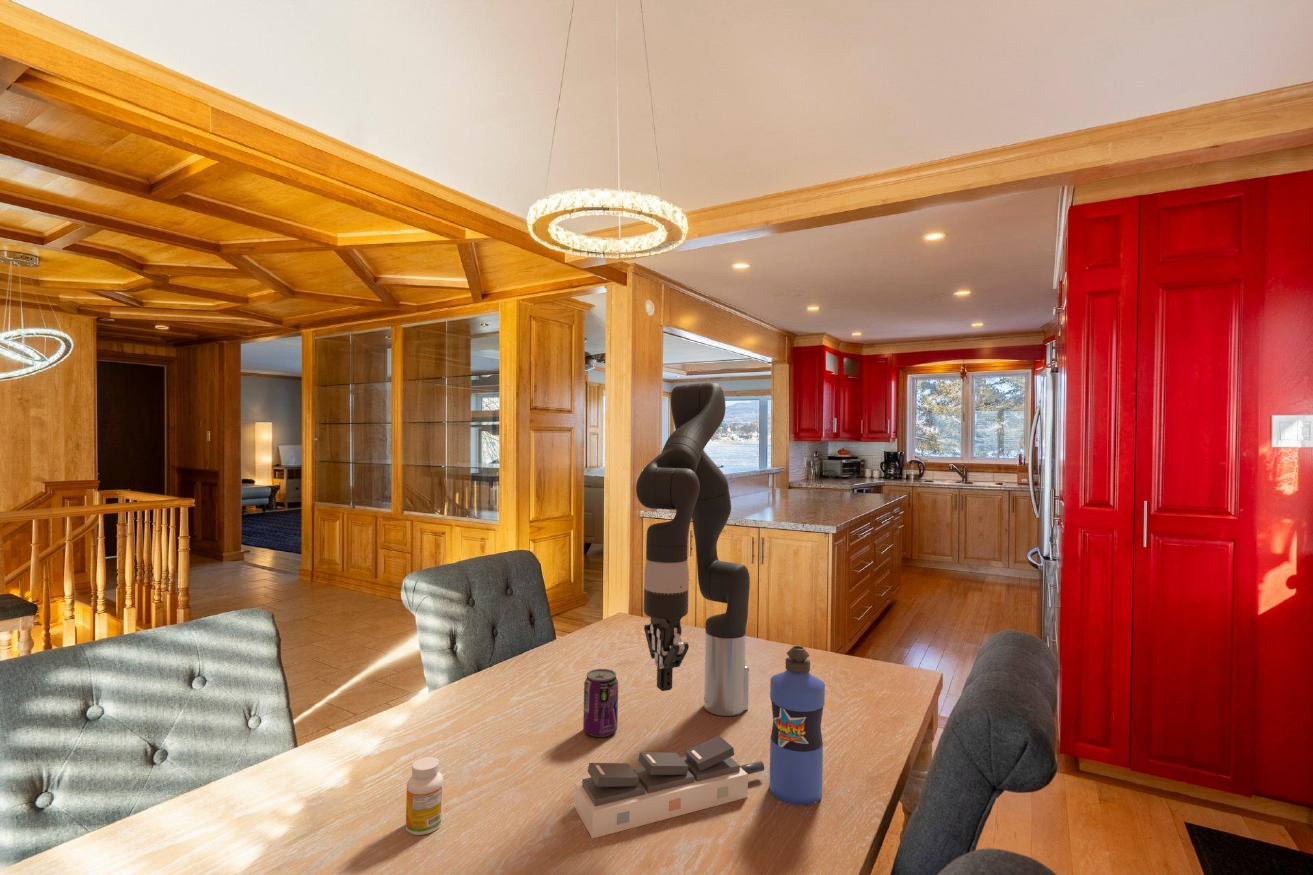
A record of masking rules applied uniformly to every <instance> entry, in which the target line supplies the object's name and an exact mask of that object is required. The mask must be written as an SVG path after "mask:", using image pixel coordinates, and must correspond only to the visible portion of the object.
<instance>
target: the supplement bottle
mask: <svg viewBox="0 0 1313 875" xmlns="http://www.w3.org/2000/svg"><path fill="white" fill-rule="evenodd" d="M443 776H444V775H443V774H442V772H440V761H439V759H438V758H436V757H434V756H426V757H422V758H419V759H416V760H415V761H414V762H412V765H411V776H410V777H409V779H408V780H407V783H406V801H405V804H406V807H405V809H406V810H405V828H406V830H407V832H409V834H411V835H414V836H421V835H422V836H423V835H427V834H430V833H433V832H435V831H436V830H437V829H439V828H440V827H441V826H442V823H443V817H444V816H443V815H444V814H443V813H444V777H443Z"/></svg>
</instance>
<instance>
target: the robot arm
mask: <svg viewBox="0 0 1313 875" xmlns="http://www.w3.org/2000/svg"><path fill="white" fill-rule="evenodd" d="M725 398H726V397H725V393H724V390H723V387H721V386H720V385H719V384H718V383H716V382H700V383H692V384H681V385H677V386H675V387H673V388H672V391H671V393H670V408H671V415H672V420H673V425H674V428H675V430H674V431H673V432H672V433H671V434H670V435H669V437H668V438H667V440H666V442H665V444H664V446H663V448H662V450H661V452H660V453H659V454H658V455H657V456H656V457H655V458H653V459H652V460H650V462H649V463H648V464H647V465H646V466H645V467H644V468H643V469H642V471H641V472H640V474H639V476H638V479H637V481H636V485H635V486H636V487H635V491H636V493H635V494H636V497H637V499H638V501H639V503H640V504H641V505H642V506H643V507H645V508H647V509H650V510H651V509H653V510H655V509H656V510H671V511H674V510H675V515H674V517H673V519H671V520H668V521H663V522H656V523H652V524H651V525H649V526H648V527H647V530H646V539H645V540H646V541H645V542H646V546H645V551H646V552H645V566H644V571H643V572H644V573H643V574H644V575H643V579H644V580H643V581H644V582H643V612H644V614H645V616H647V617H648V618H650V620H649V621H650V623H649V624H644V628H643V629H644V630H643V631H644V634H645V638H646V642H647V645H648V650H649V654H650V658H651V659H653V660H654V665H655V666H657V667H656V687H657V688H658V690H660V691H661V692H666V691H670V690H672V689H673V669H674V668H680V666H681V664H682V663H683V660H684V658H685V657H686V654H687V653H688V650H689V649H690V648H689V647H690V646H689V643H688V641H683V640H682V638H681V635H682V625H681V619H683V618H684V617H686V616H687V615H688V613H689V584H690V582H689V578H690V576H689V575H690V573H689V565H688V564H689V563H688V562H689V560H688V558H689V556H688V555H689V554H688V550H689V546H688V545H689V534H690V533H689V532H690V527H691V523H692V528H693V536H694V540H695V552H696V568H697V570H696V571H697V582H698V588H699V591H700V593H701V595H702V597H703V598H704V599H706V600H708V601H712V602H715V603H722V604H726V612H724V613H719V614H714V615H712V616H710V617H708V618H706V621H705V626H704V627H705V631H704V632H705V634H704V635H705V636H704V640H705V641H704V686H703V688H704V693H703V708H704V709H705V710H706V711H707V712H708V713H711V714H713V715H716V716H723V717H731V716H733V717H734V716H737V715H740V714H742V713H743V712H744V711H746V710H749V689H750V688H749V687H750V686H749V685H750V682H749V681H750V679H749V678H750V675H749V674H750V672H749V671H750V668H749V667H748V666H747V665H746V650H747V648H746V644H747V641H746V640H747V638H746V637H747V636H746V634H747V624H748V623H747V622H748V617H749V600H750V599H749V598H750V588H751V587H750V586H751V578H750V573H749V572H750V571H749V569H748V567H747V566H746V565H745V564H742V563H737V562H730V561H729V562H728V561H723V560H719V558H718V551H717V546H718V541H719V538H720V535H721V533H722V531H723V529H724V528H725V526H726V524H727V522H728V520H729V519H730V518H729V517H730V515H731V512H732V502H731V495H730V487H729V482H728V479H727V477H726V475H725V474H724V473H723V471H722V470H721V469H720V468H719V466H718V465H717V464H716V463H715V462H714V461H713V460H712V458H711V457H709V455H708V454H707V452H705V448H706V446H707V444H708V443H709V441H710V440H711V439H712V437H713V436H714V435H715V433H716V432H717V431H718V429H719V427H720V426H721V424H722V423H723V421H724V418H725V415H726V399H725ZM691 521H692V522H691Z"/></svg>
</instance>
